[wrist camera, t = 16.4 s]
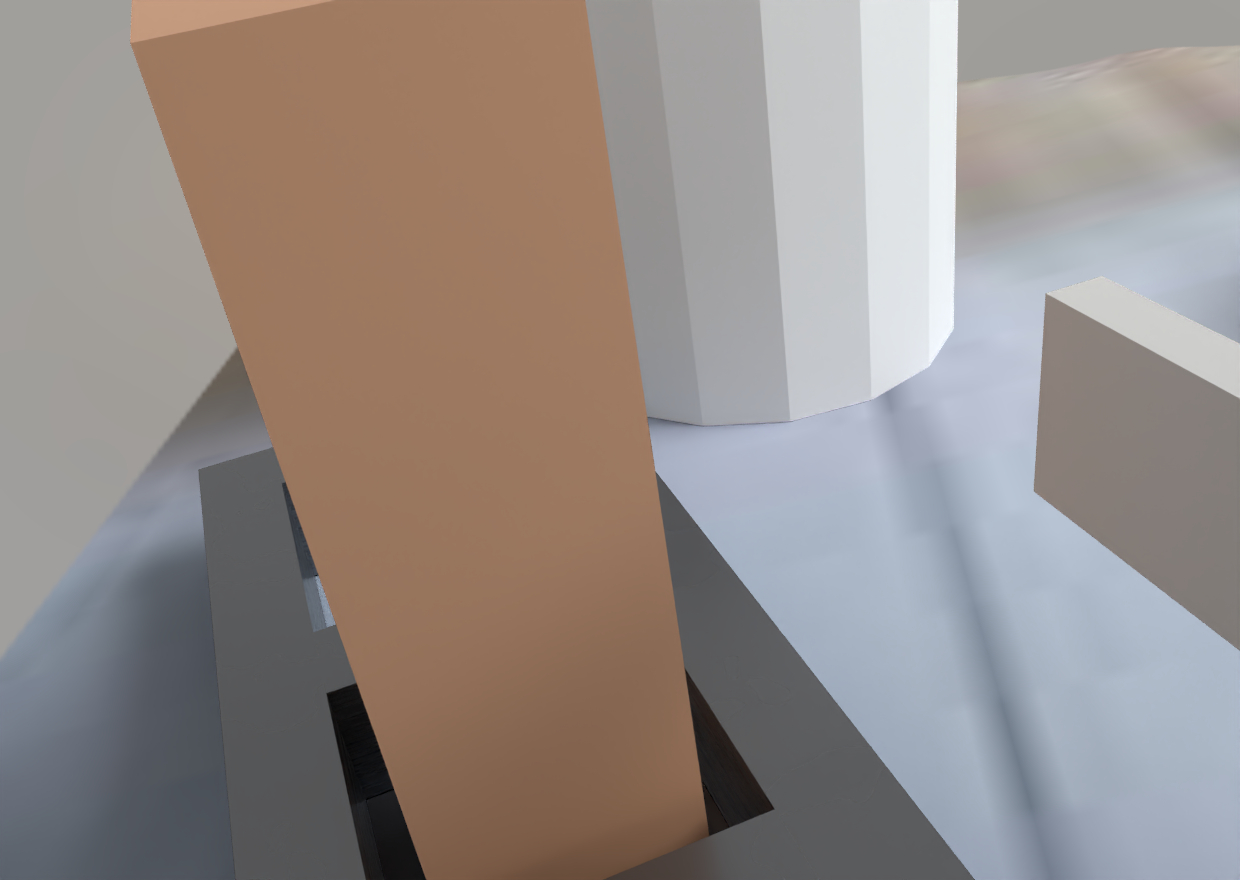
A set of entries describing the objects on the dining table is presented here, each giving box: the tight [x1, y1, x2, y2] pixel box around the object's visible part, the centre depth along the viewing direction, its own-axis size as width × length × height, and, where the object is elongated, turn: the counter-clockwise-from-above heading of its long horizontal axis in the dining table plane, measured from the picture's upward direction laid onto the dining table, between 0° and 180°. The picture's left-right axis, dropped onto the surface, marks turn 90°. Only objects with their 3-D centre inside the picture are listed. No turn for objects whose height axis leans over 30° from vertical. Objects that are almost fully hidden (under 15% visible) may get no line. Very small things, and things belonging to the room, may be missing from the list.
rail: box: [199, 448, 975, 880], centre depth 21 cm, size 10×27×3 cm, turn 21°
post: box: [130, 0, 709, 880], centre depth 18 cm, size 5×5×16 cm
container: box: [585, 0, 958, 426], centre depth 34 cm, size 13×13×20 cm
